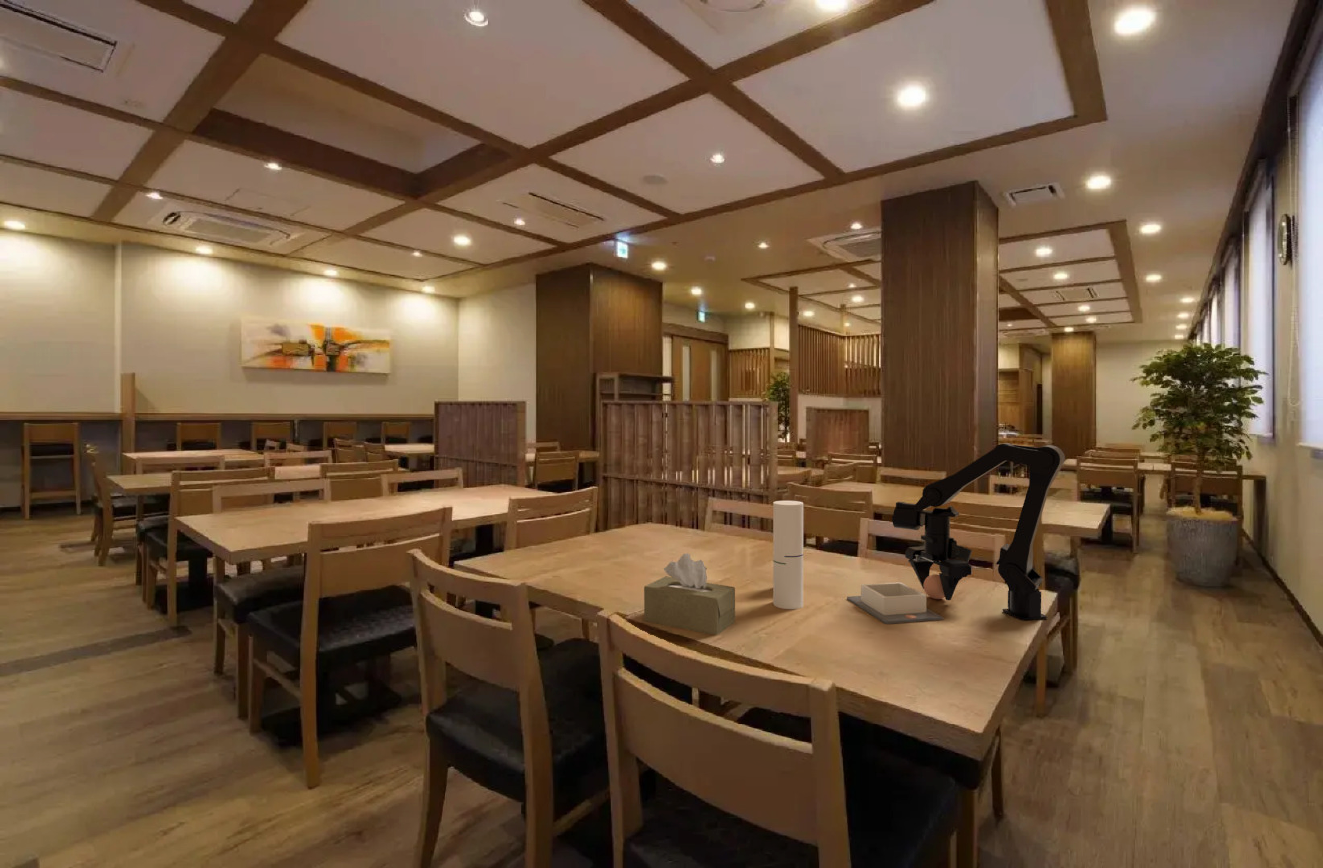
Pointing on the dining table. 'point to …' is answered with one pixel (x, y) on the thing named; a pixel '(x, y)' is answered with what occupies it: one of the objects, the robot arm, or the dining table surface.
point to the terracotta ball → (933, 587)
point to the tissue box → (689, 599)
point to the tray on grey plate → (894, 603)
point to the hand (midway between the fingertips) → (936, 594)
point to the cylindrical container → (788, 554)
